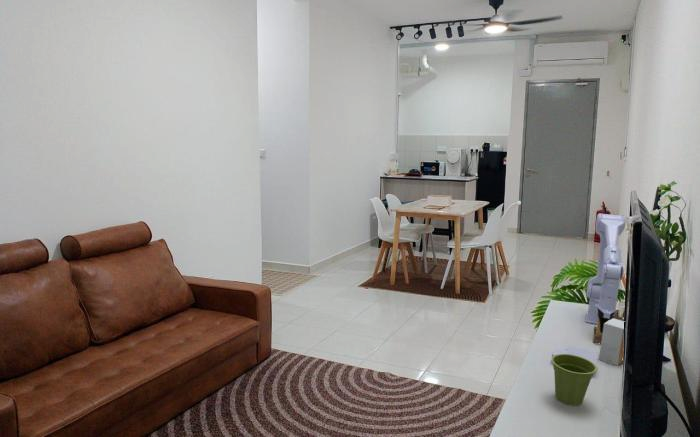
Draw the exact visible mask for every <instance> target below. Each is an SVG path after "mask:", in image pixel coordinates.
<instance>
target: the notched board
mask: <svg viewBox="0 0 700 437" xmlns="http://www.w3.org/2000/svg"><path fill="white" fill-rule="evenodd" d="M596 330H597V326H594V328H593V333H594V335H593V342H594V343H593V342H592V343H593V344H597V343H600V344H599V345H601V341H602V335H597V334H596Z"/></svg>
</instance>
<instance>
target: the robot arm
mask: <svg viewBox="0 0 700 437" xmlns="http://www.w3.org/2000/svg"><path fill="white" fill-rule="evenodd" d="M625 229H626V217H625V215H616V214H609V213H608V214H607V213H600V212H599V213H598V214H597V215H596V220H595V234H597V235H599V238H600V239H599V240H600V243H599V249H598V261H597V270H596V275H595V276H592V277H590V278H589V279H588V280H587V281H588V282H587V287H586V297H587V299H589V301H588V309H587V313H586V314H585V322H586V323H589V324H594V325H597V322H598V317H599V321H600V332H601V333H603V327H604V323H606V322H607V321H609V320H611V319H613V318H614V319H616V317H615V316H613V315H614V314H615V312H616V311H617V302H618V296H619V295H618V294H619V287H620V283H621V281H622V280H623V276H624V265H623V262H622V261H621V260H622V258H621V257H622V256H621V253H622V252H621V249H620V248H619V247H618V242H619V241H618V240H619V237H620V236H621V234H622V233H623V232H624V230H625Z"/></svg>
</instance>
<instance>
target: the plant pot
mask: <svg viewBox="0 0 700 437" xmlns="http://www.w3.org/2000/svg"><path fill="white" fill-rule="evenodd" d="M551 360H552V362H553V365H552V366H553V370H554V396H555V398H556V399H557V401H558V402H560V403H562V404H564V405H571V406H575V407H577V406H580V405H582V404H583V402H584V399H585V397H586V395H587V394H586V393H587V391H588V388H589V385H590V382H591V380H592V378H593V376H594V374H595V373H596V372H597V371H598V366H597V364H596V365H595V364H594V363H593V362H591V361H589V360H587V359H585V358H583V357H580V356H576V355H571V354H557V355H554V356H553V357H552V356H551Z"/></svg>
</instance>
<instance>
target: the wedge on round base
mask: <svg viewBox="0 0 700 437" xmlns="http://www.w3.org/2000/svg"><path fill="white" fill-rule="evenodd" d="M557 354H571V355H576V356H580V357H583V358H585V359H587V360H589V361H591V362H593V363H594V364H595V365H596V366H597V356H598V351H595V350H589V349H585V348H580V347H576V346H571V345H568V346H567V349H559V348H558V349H554V350H552V354H551V358H552V357H553V356H554V355H557ZM550 364H551V365H552V366H553V362H552V359H551V360H550Z"/></svg>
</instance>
